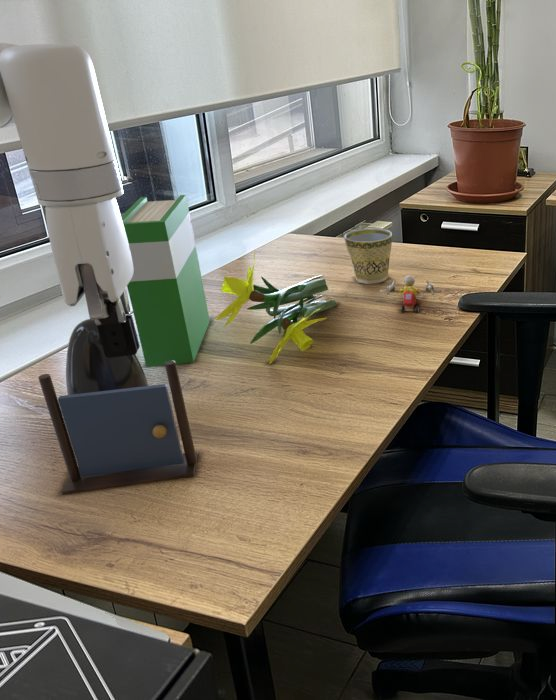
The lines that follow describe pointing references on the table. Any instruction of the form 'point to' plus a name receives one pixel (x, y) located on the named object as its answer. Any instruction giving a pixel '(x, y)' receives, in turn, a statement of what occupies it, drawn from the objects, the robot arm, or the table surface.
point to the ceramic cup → (369, 253)
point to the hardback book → (165, 281)
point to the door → (122, 429)
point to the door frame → (126, 477)
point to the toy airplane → (410, 293)
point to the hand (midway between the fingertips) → (123, 352)
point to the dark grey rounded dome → (98, 364)
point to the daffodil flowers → (275, 299)
